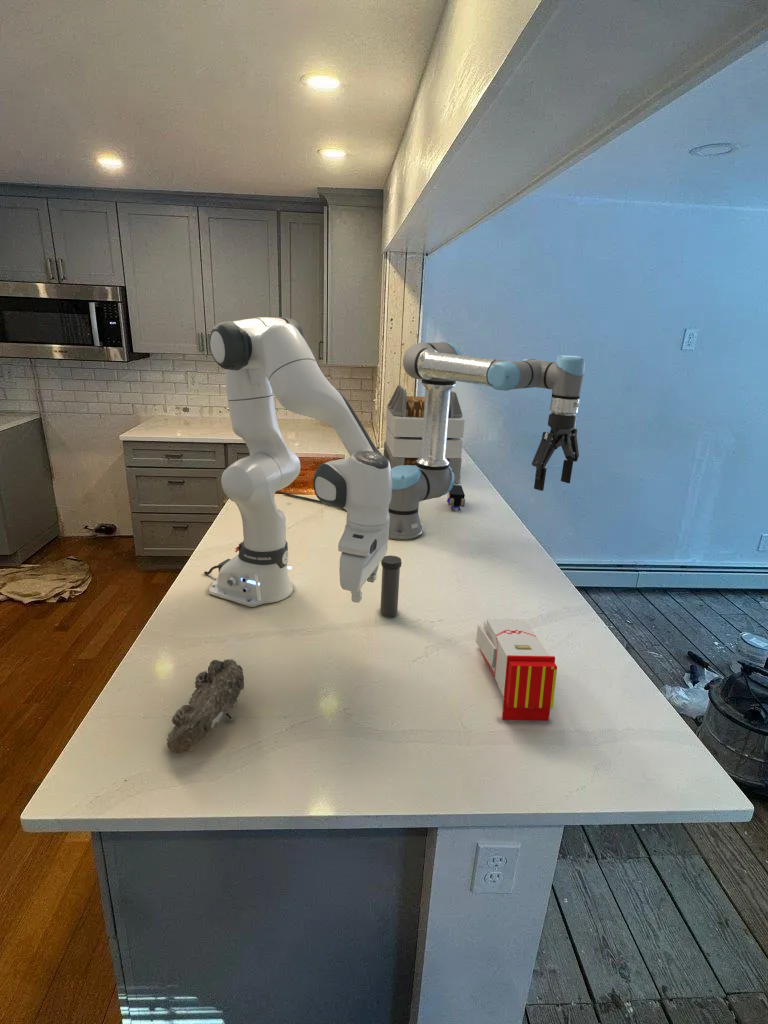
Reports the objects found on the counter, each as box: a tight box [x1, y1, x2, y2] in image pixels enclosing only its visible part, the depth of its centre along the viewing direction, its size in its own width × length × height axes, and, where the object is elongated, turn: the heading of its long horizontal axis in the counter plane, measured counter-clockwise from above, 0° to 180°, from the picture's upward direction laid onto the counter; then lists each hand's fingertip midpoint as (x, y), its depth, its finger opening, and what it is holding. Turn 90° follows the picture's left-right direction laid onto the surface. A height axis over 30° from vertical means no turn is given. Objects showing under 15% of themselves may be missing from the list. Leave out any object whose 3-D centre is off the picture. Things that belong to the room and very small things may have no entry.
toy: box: [475, 618, 558, 722], centre depth 122 cm, size 12×13×30 cm
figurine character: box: [446, 484, 466, 511], centre depth 229 cm, size 7×8×15 cm
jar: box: [379, 566, 401, 618], centre depth 145 cm, size 4×4×15 cm
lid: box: [380, 555, 402, 570], centre depth 143 cm, size 5×5×2 cm
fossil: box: [166, 658, 245, 754], centre depth 106 cm, size 22×10×15 cm
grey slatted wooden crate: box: [383, 384, 465, 484], centre depth 268 cm, size 34×33×41 cm
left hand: (364, 590), depth 121 cm, fingers open, 8 cm apart
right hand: (552, 485), depth 166 cm, fingers open, 13 cm apart
